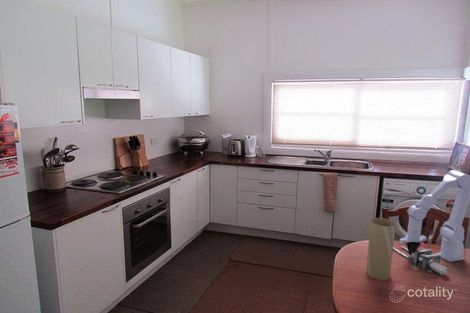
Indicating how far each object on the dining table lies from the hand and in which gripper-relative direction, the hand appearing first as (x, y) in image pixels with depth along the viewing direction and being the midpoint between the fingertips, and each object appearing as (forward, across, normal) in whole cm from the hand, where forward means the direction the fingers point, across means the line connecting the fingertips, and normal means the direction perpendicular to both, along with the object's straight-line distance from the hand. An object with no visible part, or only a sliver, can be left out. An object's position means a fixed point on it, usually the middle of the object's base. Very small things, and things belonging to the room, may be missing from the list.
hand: (411, 255), depth 161 cm
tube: (+1, +27, +9) cm, 28 cm away
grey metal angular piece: (+1, +2, +3) cm, 3 cm away
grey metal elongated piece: (+1, 0, +10) cm, 10 cm away
